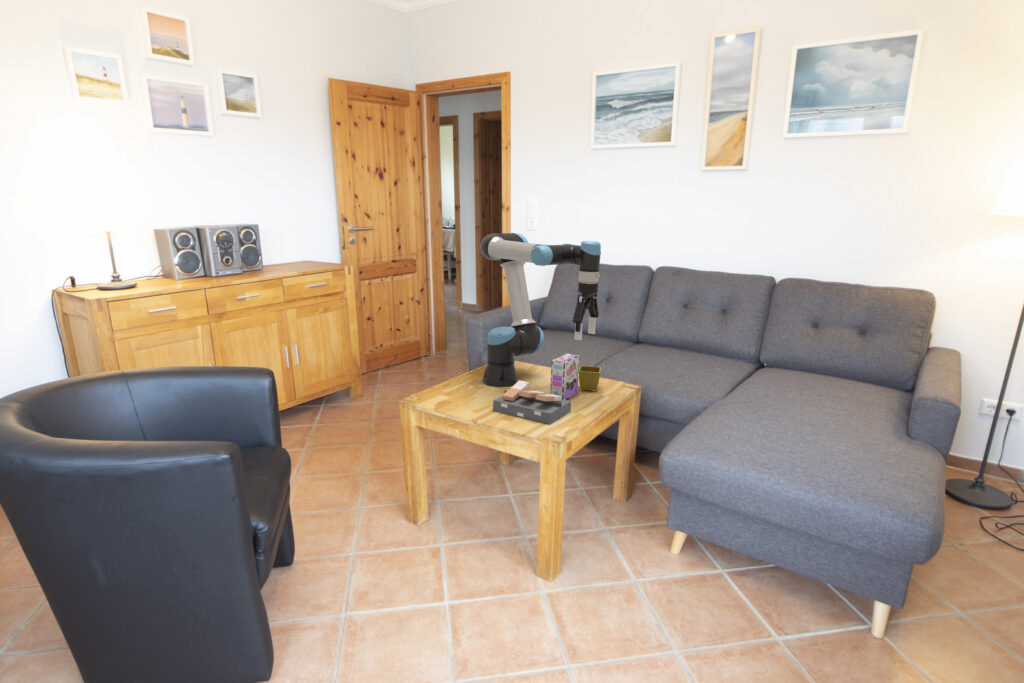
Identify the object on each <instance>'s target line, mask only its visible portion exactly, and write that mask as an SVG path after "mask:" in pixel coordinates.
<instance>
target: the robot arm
mask: <svg viewBox="0 0 1024 683" xmlns="http://www.w3.org/2000/svg"><path fill="white" fill-rule="evenodd" d="M601 246H602V244H601V243H600V241H593V240H582V241H581V242H580V245H578V244H572V243H561V244H540V243H533V242H532V243H531V242H529V241H528V239H527V238H526V237H525V236H524V235H523V234H521V233H517V232H509V233H508V232H506V233H505V232H504V233H500V232H499V233H495V232H493V233H489V234H487V235H485V237H483V238H482V240H481V241H480V245H479V248H480V253H481V255H482V257H484V258H485V259H487V260H490V261H499V263H500V264H499V266H500V267H502V268H503V269H504V276H505V282H506V287H507V293H508V299H509V300H508V301H509V305H510V306H509V307H510V312H511V317H512V318H511V319H512V323H511V325H509V326H499V327H494V328H492V329H490V330H489V331H488V334H487V339H486V340H487V341H486V342H487V354H486V356H487V364H486V367H485V370H484V373H483V376H482V382H483V383H484V384H486V385H488V386H490V387H491V386H492V387H510V386H511V387H512V386H514V385H515V384H516V383H517V382H518V381H519V376H518V372H517V370H516V366H515V357H519V356H525V355H531V354H534V353H535V354H536V353H537V352H540V351H541V350H542V347H543V345H544V343H545V334H544V332H543V330H542V328H541V327H539V326H538V325H537V321H535V319H533V316H532V311H531V304H530V299H529V298H530V297H529V292H528V287H527V286H528V285H527V281H526V274H525V267H524V265H525V264H526V263H531V264H534V265H536V266H540V267H545V266H557V265H558V266H559V265H560V266H561V265H562V266H563V265H576V266H579V271H578V281H579V282H578V284H577V285H578V286H577V291H578V293H581V296H577V300H576V305H575V310H574V313H573V318H572V323H573V324H574V323H575V325H574V338H573V339H574V340H575V341H582V340H583V325H584V324H583V320H584V317H585V314H586V311H588V313H589V317H588V327H587V334H592V335H596V323H597V322H596V321H597V319H598V318H599V305H598V292H599V283H598V282H599V280H600V279H599V278H600V277H601V275H600V263H601V256H602V252H601V251H602V247H601Z"/></svg>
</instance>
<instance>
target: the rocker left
mask: <svg viewBox="0 0 1024 683" xmlns="http://www.w3.org/2000/svg"><path fill="white" fill-rule="evenodd" d="M529 387H530V382H529V381H524V380H521V379H518V382H517V383H516V384H515V385H512V386H511V387H510V388H509V389H508V390H506V391H507V392H506V393H505V392H504V393H505V394H504V393H503V394H502V396H503V399H505V400H510V401H514V400H515V399H516V398H517V397H518V396H519V391H527V389H529Z"/></svg>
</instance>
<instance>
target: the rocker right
mask: <svg viewBox="0 0 1024 683" xmlns="http://www.w3.org/2000/svg"><path fill="white" fill-rule="evenodd" d="M536 399H538V400H542V401H561V400H562V396H558V395H554V394H550V393H549V394H548V393H545V394H539V395H536Z"/></svg>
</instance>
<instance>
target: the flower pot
mask: <svg viewBox="0 0 1024 683" xmlns="http://www.w3.org/2000/svg"><path fill="white" fill-rule="evenodd" d="M579 366H580V367H579V370H578V384H579V386H580V388H581V390H582V391H584V390H595V391H596V390H597V388H598V385H599V383H600V381H599V380H600V376H601V371H602V367H601V366H592V365H591V366H590V365H579Z"/></svg>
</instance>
